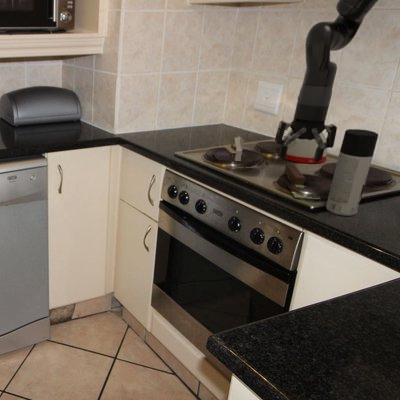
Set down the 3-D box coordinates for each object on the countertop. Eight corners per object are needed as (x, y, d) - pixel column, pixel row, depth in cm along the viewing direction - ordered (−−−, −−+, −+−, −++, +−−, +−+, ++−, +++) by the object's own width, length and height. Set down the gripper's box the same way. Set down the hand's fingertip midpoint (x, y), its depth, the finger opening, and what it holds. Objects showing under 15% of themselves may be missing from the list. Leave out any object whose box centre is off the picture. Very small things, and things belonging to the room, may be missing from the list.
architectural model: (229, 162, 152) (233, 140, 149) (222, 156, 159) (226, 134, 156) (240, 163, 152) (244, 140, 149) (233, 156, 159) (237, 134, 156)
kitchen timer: (306, 150, 166) (314, 107, 160) (335, 161, 153) (346, 114, 148) (270, 152, 164) (277, 108, 158) (296, 163, 151) (305, 116, 146)
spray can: (361, 218, 114) (385, 136, 106) (330, 215, 115) (352, 134, 107) (349, 207, 120) (371, 129, 112) (320, 205, 121) (340, 127, 113)
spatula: (277, 173, 144) (279, 163, 142) (299, 174, 142) (301, 165, 141) (294, 198, 125) (297, 188, 123) (319, 201, 123) (322, 190, 122)
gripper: (287, 102, 124) (274, 161, 131) (348, 106, 122) (331, 166, 128) (281, 97, 131) (269, 154, 138) (338, 100, 128) (323, 158, 135)
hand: (299, 160), depth 133 cm, fingers open, 8 cm apart
